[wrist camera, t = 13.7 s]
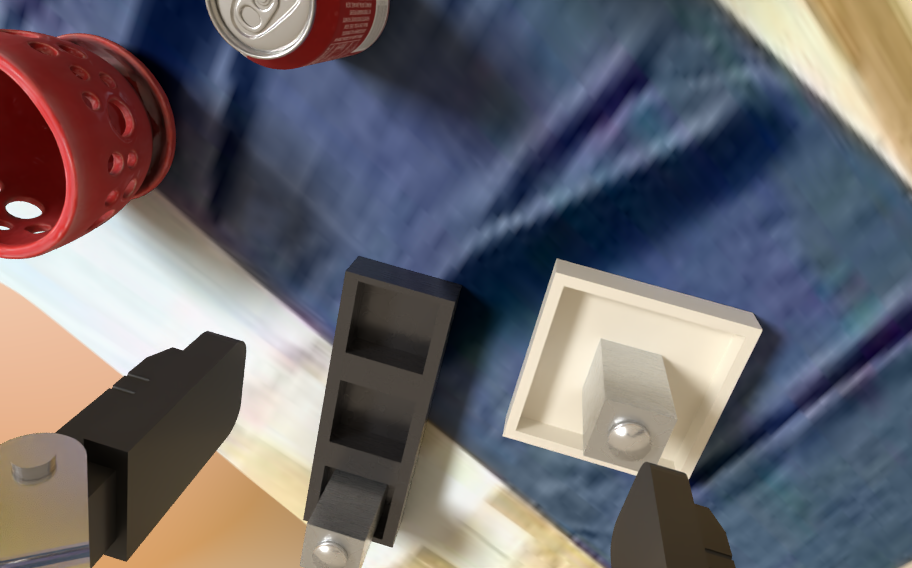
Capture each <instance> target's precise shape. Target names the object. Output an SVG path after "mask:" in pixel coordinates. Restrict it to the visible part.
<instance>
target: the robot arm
mask: <svg viewBox="0 0 912 568" xmlns="http://www.w3.org/2000/svg"><path fill="white" fill-rule="evenodd" d="M245 359H246V345H245V343H244V342H243V341H240V340H236V339H233V338H230V337H226V336H223V335H219V334H216V333H213V332H209V331H206V332H204V333H203V334H201V335H200V336H199V337H198V338H197V339H196V340H194V341H193V342H192V343H191V344H190V345H189V346H188V347H187V348H185V349H184V350H179V349H176V348H173V347H172V348H170V349H167V350H165V351H162V352H160V353H157V354H155V355H152V356H149V357H147V358H146V359H144V360H143V361H142V362H141V363H139V364H138V365H137V366H136V367H135V368H133V369H132V370H131V371H130V372H129V373H128V375H127V376H124V377H122V378H121V379H120V380H119V381H118V382H116V383H115V384H114V385H113V388H112V389H110V388H109V389H108V390H107V391H105V392H104V393H103V394H102V395H101V396H99V397H98V398H97V399H96V400H94V401H93V402H92V403H91V404H90V405H88V406H87V407H86V408H85V409H83V410H82V411H81V412H80V413H79V414H77V416H75V417H74V418H73V419H71V420H70V421H69V422H68V423H67V424H65V425H64V426H63V427H62V428H61V429H59V430H58V431H57V432H56V433H36V434H29V435H24V436H20V437H17V438H14V439H11V440H9V441H6V442H4V443H2V444H0V568H92V567H93V566H94V565H95V563H96V562H97V561H98V560H99V559H100V558H101V557H102V555H103V554H104V555H107V556H110V557H113V558H116V559H120V560H123V561H127V560H128V559H129V558H130V557H131V556H132V554H133V553H134V552H135V551H136V549H137V548H138V547H139V546H140V544H141V543H142V542H143V541H144V540H145V538H146V537H147V536H148V534H149V533H150V532H151V531H152V530H153V528H154V527H155V526H156V525H157V523H158V522H159V521H160V520H161V518H162V517H163V516H164V515H165V513H166V512H167V511H168V510H169V508H170V507H171V506H172V504H174V502H175V501H176V500H177V499H178V497H179V496H180V495H181V494H182V492H183V491H184V490H185V489H186V487H187V486H188V485H189V484H190V482H191V481H192V480H193V479H194V478H195V476H196V475H197V474H198V472H199V471H200V470H201V469H202V467H203V466H204V465H205V464H206V463H207V461H208V460H209V459H210V458H211V456H212V455H213V454H214V453H215V452H216V450H217V449H218V448H219V447H220V445H221V444H222V443H223V442H224V440H225V439H226V438H227V437H228V435H229V434H230V432H231V431H232V429H233V427H234V425H235V422H236V420H237V417H238V414H239V411H240V406H241V397H242V387H243V378H244V368H245ZM611 568H735V564H734V561H733V560H732V553H731V550H730V546H729V543H728V539H727V536H726V532H725V531H724V529H723V528H722V526H721V525H720V524H719V522H718V521H717V519H716V518H715V517H714V515H713V514H712V512H711V511H710V509H709V508H707V507H703V506H700V505H697V504H694V501H693V497H692V493H691V488H690V484H689V480H688V477H687V475H686V473H684V472H680V471H677V470H674V469H670V468H667V467H663V466H660V465H657V464H653V463H650V462H644V463H643V464H642V466H641V467H640V469H639V471H638V474H637V476H636V478H635V480H634V483H633V485H632V487H631V489H630V491H629V494H628V496H627V498H626V500H625V503H624V505H623V507H622V509H621V512H620V514H619V516H618V518H617V521H616V524H615V527H614V531H613V535H612V541H611Z"/></svg>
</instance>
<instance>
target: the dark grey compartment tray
mask: <svg viewBox="0 0 912 568" xmlns="http://www.w3.org/2000/svg"><path fill="white" fill-rule="evenodd" d="M461 287H462V285H459V284H456V283H452V282H449V281H445V280H442V279H438V278H435V277H431V276H428V275H424V274H420V273H417V272H413V271H410V270H406V269H403V268H399V267H396V266H392V265H389V264H385V263H382V262H378V261H374V260H371V259H367V258H364V257H360V256H358V257H357V259H356V260H355V261H354V262H353V263H352V264H351V265H350V267H349V268H348V269H347V270H346V272H345V278H344V284H343V290H342V296H341V302H340V308H339V313H338V319H337V325H336V331H335V337H334V343H333V349H332V355H331V360H330V366H329V372H328V378H327V384H326V390H325V396H324V402H323V407H322V413H321V419H320V425H319V431H318V437H317V443H316V448H315V454H314V460H313V466H312V472H311V478H310V484H309V490H308V495H307V501H306V507H305V513H304V519H303V520H305V521H309V519H310V517H311V515H312V513H313V511H314V509H315V507H316V505H317V504H318V502H319V500H320V498H321V496H322V494H323V492H324V490H325V488H326V486H327V484H328V482H329V480H330V478H331V477H332V475H333V473H334V471H335V469H338V470H342V471H345V472H348V473H352V474H355V475H358V476H361V477H365V478H368V479H371V480H375V481H378V482H381V483H384V484H388V485H389V488H388V492H387V497H386V501H385V505H384V509H383V512H382V515H381V517H380V520H379V523H378V525H377V528H376V530H375V533H374V536H373V538H372V541H373V542H376V543H379V544H383V545H386V546H389V547H393V544H394V542H395V539H396V536H397V533H398V530H399V527H400V524H401V520H402V517H403V513H404V509H405V505H406V501H407V497H408V493H409V489H410V485H411V482H412V478H413V474H414V470H415V466H416V462H417V458H418V454H419V451H420V447H421V443H422V439H423V435H424V431H425V427H426V423H427V419H428V416H429V412H430V408H431V404H432V400H433V396H434V392H435V388H436V385H437V381H438V377H439V373H440V369H441V365H442V361H443V357H444V353H445V350H446V346H447V342H448V338H449V334H450V330H451V326H452V322H453V318H454V315H455V311H456V307H457V303H458V299H459V295H460V291H461Z"/></svg>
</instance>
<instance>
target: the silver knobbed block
mask: <svg viewBox="0 0 912 568" xmlns="http://www.w3.org/2000/svg"><path fill="white" fill-rule="evenodd" d="M582 413H583V456H586V457H589V458H593V459H596V460H600V461H603V462H607V463H610V464H613V465H617V466H620V467H624V468H627V469H631V470H634V471H639V469H640V467H641V466H642V464H643V463H644V462H650V463H653V464H658V462H659V459H660V457H661V455H662V453H663V451H664V448H665V446H666V444H667V442H668V440H669V437H670V435H671V433H672V431H673V429H674V426H675V424H676V422H677V420H678V419H677V415H676V411H675V407H674V403H673V399H672V395H671V391H670V387H669V382H668V378H667V374H666V370H665V366H664V362H663V358H662V355H659V354H656V353H652V352H649V351H645V350H641V349H638V348H634V347H631V346H627V345H624V344H620V343H616V342H613V341H609V340H606V339H602V338H601V339H600V341H599V344H598V347H597V350H596V352H595V355H594V358H593V361H592V363H591V366H590V369H589V371H588V374H587V377H586V380H585V382H584V385H583V388H582Z"/></svg>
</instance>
